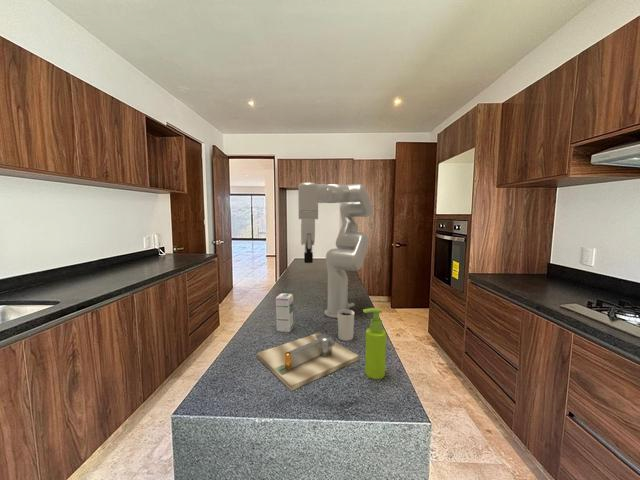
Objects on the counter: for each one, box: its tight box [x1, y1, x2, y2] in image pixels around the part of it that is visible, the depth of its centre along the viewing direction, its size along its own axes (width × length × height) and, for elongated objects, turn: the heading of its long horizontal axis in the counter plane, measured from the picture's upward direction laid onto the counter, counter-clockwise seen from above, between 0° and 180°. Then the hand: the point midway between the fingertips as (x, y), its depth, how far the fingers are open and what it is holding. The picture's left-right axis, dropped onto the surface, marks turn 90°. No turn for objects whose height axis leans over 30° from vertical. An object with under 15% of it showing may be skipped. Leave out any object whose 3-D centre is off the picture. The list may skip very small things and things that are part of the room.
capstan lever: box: [285, 333, 336, 369], centre depth 86 cm, size 18×8×5 cm, turn 132°
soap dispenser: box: [362, 307, 387, 380], centre depth 81 cm, size 6×7×20 cm
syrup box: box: [275, 292, 295, 333], centre depth 113 cm, size 6×6×14 cm
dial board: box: [256, 332, 360, 392], centre depth 90 cm, size 26×22×2 cm
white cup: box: [337, 309, 355, 342], centre depth 106 cm, size 7×7×10 cm
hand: (308, 262), depth 106 cm, fingers closed
